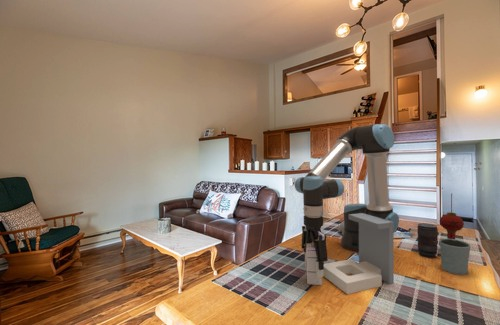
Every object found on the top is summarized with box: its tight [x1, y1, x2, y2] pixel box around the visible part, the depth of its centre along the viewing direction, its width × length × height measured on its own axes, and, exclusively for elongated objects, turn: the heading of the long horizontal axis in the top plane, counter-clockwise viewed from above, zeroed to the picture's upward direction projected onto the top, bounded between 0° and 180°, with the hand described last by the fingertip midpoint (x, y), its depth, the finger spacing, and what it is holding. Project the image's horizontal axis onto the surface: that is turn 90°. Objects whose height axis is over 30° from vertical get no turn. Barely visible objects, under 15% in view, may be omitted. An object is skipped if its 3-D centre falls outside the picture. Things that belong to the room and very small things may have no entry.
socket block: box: [323, 213, 395, 295], centre depth 98 cm, size 16×22×24 cm
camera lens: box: [416, 222, 439, 259], centre depth 119 cm, size 8×8×15 cm
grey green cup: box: [438, 238, 471, 276], centre depth 103 cm, size 10×10×12 cm
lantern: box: [439, 193, 464, 240], centre depth 121 cm, size 10×10×30 cm
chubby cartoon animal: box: [337, 220, 344, 236], centre depth 153 cm, size 7×12×8 cm, turn 12°
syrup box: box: [306, 242, 323, 286], centre depth 97 cm, size 6×6×14 cm
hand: (313, 272), depth 97 cm, fingers closed on syrup box, 7 cm apart
